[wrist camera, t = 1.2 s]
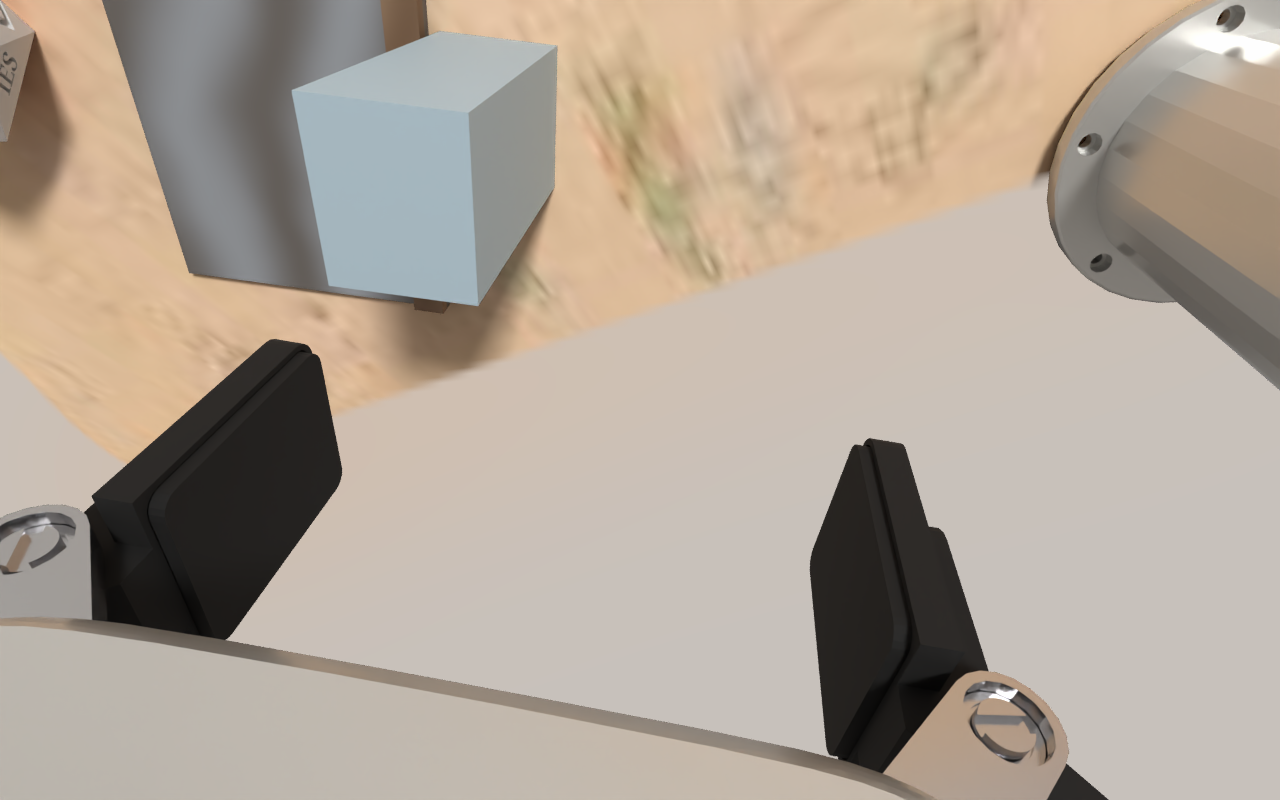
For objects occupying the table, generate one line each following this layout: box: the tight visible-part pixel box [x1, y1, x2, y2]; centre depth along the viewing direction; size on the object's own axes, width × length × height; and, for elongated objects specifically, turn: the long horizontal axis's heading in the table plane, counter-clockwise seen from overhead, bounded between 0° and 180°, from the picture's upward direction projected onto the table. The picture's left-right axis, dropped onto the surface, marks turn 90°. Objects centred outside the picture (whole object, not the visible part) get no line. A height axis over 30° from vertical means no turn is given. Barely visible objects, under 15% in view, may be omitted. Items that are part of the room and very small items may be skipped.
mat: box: [102, 0, 449, 313], centre depth 30 cm, size 14×20×1 cm
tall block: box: [291, 31, 557, 306], centre depth 25 cm, size 5×6×12 cm
